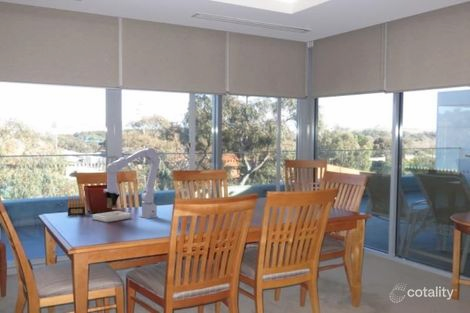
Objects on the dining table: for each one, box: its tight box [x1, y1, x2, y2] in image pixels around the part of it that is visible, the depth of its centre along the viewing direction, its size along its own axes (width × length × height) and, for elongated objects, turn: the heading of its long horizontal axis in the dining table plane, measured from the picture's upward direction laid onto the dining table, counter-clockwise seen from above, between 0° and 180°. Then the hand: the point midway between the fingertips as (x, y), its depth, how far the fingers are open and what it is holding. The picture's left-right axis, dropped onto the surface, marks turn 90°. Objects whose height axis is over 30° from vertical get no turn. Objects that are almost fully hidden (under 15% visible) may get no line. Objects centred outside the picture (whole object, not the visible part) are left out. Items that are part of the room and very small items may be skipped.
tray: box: [92, 210, 132, 223], centre depth 281 cm, size 14×18×3 cm
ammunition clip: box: [67, 195, 86, 216], centre depth 293 cm, size 11×2×12 cm, turn 110°
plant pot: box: [83, 184, 113, 213], centre depth 309 cm, size 19×19×17 cm
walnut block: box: [107, 198, 118, 209], centre depth 281 cm, size 4×4×6 cm
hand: (111, 204), depth 281 cm, fingers closed on walnut block, 4 cm apart
